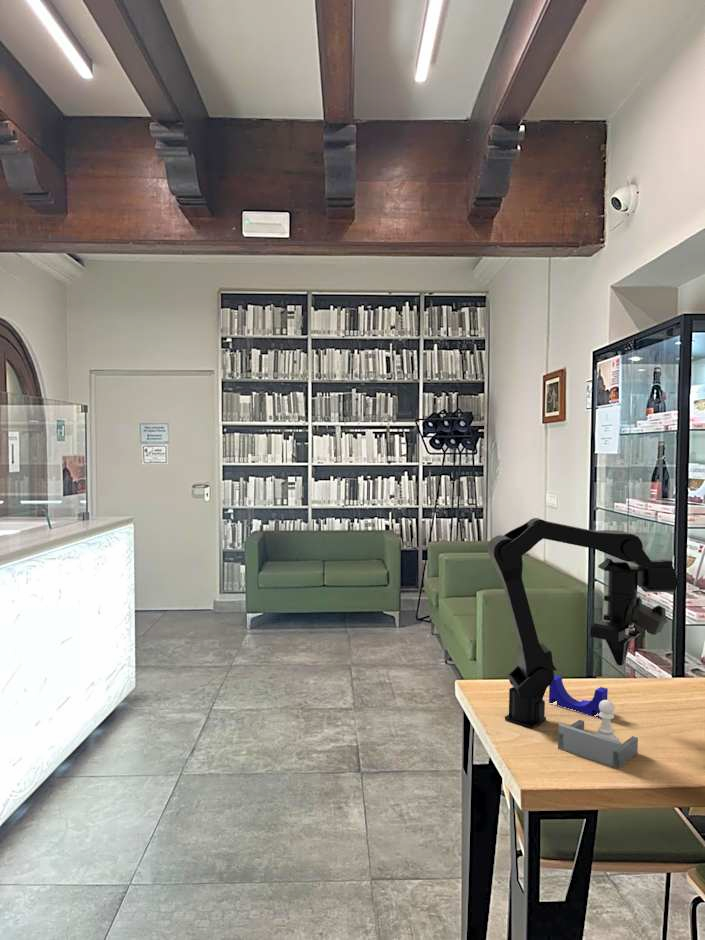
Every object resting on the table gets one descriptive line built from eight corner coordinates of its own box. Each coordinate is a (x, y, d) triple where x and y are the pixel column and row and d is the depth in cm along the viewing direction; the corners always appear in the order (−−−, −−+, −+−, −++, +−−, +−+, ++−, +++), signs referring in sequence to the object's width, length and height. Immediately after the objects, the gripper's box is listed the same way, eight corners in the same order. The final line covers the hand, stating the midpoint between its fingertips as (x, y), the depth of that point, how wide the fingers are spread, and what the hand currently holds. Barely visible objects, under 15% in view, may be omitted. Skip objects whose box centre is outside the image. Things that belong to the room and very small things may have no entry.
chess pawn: (586, 743, 132) (587, 697, 132) (605, 739, 134) (606, 694, 134) (605, 754, 127) (607, 706, 127) (625, 749, 130) (626, 702, 129)
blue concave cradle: (609, 714, 147) (610, 686, 147) (601, 719, 144) (601, 692, 144) (558, 699, 156) (558, 673, 155) (548, 704, 152) (549, 678, 152)
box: (557, 748, 129) (558, 725, 129) (579, 734, 136) (579, 712, 136) (617, 768, 121) (618, 744, 121) (637, 753, 128) (638, 729, 128)
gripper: (644, 605, 130) (641, 685, 130) (678, 591, 143) (675, 664, 144) (588, 595, 137) (586, 671, 138) (625, 583, 151) (623, 652, 151)
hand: (620, 665), depth 142 cm, fingers closed
